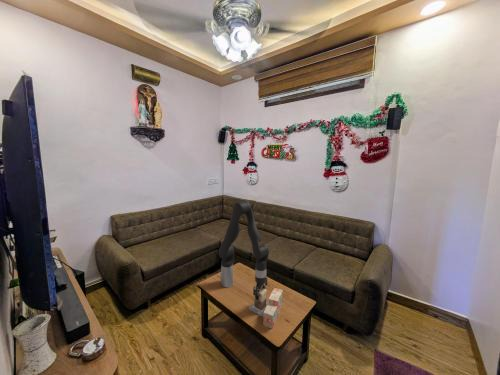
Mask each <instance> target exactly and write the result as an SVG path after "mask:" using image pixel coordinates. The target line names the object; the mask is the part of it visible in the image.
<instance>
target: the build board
mask: <svg viewBox="0 0 500 375" xmlns="http://www.w3.org/2000/svg"><path fill="white" fill-rule="evenodd" d="M268 303H269V301H266V306H265V307H264V308H263V310H260V309H258V308H256V307H254V302H253V303H252V304H251V305H250V306H249V307H248V310H250V311H251V312H253V313H255V314H257V315H258V316H261V317H262V318H263V317H264V311H265V308H266V307H267V305H268Z"/></svg>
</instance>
